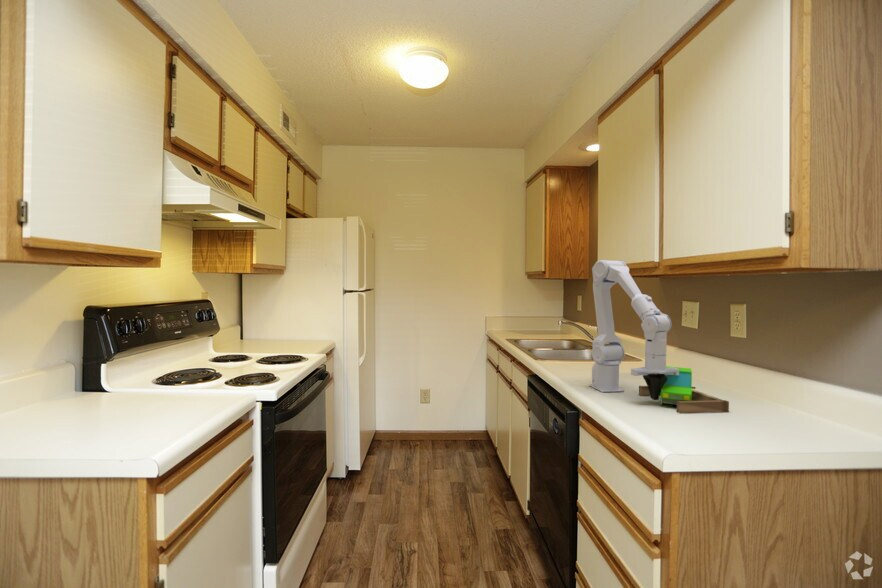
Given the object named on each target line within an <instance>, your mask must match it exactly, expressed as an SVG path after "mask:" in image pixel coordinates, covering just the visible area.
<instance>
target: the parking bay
mask: <svg viewBox="0 0 882 588" xmlns="http://www.w3.org/2000/svg"><path fill="white" fill-rule="evenodd" d="M638 396H640V397H650V393H649V389H648V386H647V385H638ZM659 397H661V392H660V395H659ZM729 405H730V401H729V400H726V399H722V398H718V397H715V396H713V395H709V394H707V393H704V392H701V391H698V390H696V389H692V398H691V401H677V405H676V413H678V412H679V413H678V414H699V413H698V412H711V413H729V412H730V406H729Z"/></svg>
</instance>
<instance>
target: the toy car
mask: <svg viewBox="0 0 882 588" xmlns="http://www.w3.org/2000/svg"><path fill="white" fill-rule="evenodd" d="M666 368H677V369H679V375H665V376H666V377H667V381H666V383H665V384H664V386H663V388H662V389H661V396H660V405H666V404H669V405H676V406H677V401H692V400H691V398H692V389H693V390H696V388H697V387H696V386H692V385H693V379H692V378H693V376H692V375H693V372H692V368H689V367H677V366H667V365H666Z"/></svg>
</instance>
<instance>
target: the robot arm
mask: <svg viewBox="0 0 882 588" xmlns="http://www.w3.org/2000/svg"><path fill="white" fill-rule="evenodd" d="M591 271H592V272H591V273H592V280H593V281H592V292H593V299H594V309H595V319H596V326H597V336H596V337H595V338H594V339H593V341H592V349H591V357H592V359H593V361H594V363H593V364H592V368H591V383H589V386H590V387H592V388H594V389H595V390H598V391H600V392H603V393H612V392H613V393H614V392H615V393H616V392H618V393H619V392H620V393H621V392H625V390H624V389H622V388H620V387H619V384H620V364H622V361H623V360H624V358H625V356H626V352H625V348H624V346H623V344H622V339H621V338H620V337H619V336H618V335H616V331H615V321H614V313H613V305H612V296H611V295H612V294H611V288H612V287H614V285H616V284H619V286H620V287H621V288H622V289H623V290H624V292H625V293H626V295H627V296H628V297H629V298H630V299H631V302H630V305H631V307H632V309H633V310H634V311H635V312H636V315H637V316H638V317H639V319H640V321H642V322H641V324H640V326H641V329H642V331H643V333H644V335H643V336H644V339H645V343H644V345H645V346H644V347H645V349H644V353H645V354H644V367H635V368H634V367H632V368H630V376H633V377H637V376H642V378H643V379H644V381H645V384H646V386H648V389H649V393H650V396H649V397H650V399H652V400H653V401H658V400H659V398H660V396H659V395H660V392H661V389H662V388H663V386H664V384H665V383H666V381H667V377H666V376H665V375H679V369H677V368H666V366H667V342H668V339H667V337H668V336H667V335H668V333H669V331H670V330H671V328H672V320H671V318H670V316H669V315H668V314H666V313H663V312H661V310H660V309H659V308H658V307H657V306H656V304H655V303H654V302H653V298H652V296H649V295H648V294H643V293H642V292H641V289H640V288H639V287H638V285H637V283H636V282H635V280H634V279H633V276H632V275H631V274H630V267H628V266H627V263H626V262H625V261H623V260H608V259H606V260H605V259H598V260H597V261H596V262H595V263H594V265H593V266H592V267H591Z"/></svg>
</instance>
